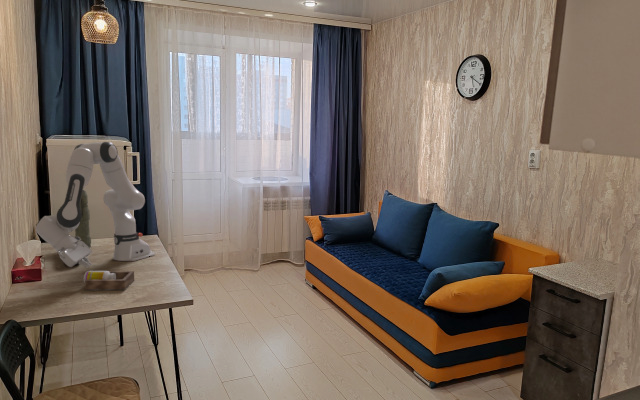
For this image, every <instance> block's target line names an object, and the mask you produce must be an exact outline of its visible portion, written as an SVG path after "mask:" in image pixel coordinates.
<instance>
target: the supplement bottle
mask: <svg viewBox="0 0 640 400" xmlns="http://www.w3.org/2000/svg"><path fill="white" fill-rule="evenodd" d="M115 279H116V274H115V273H110V272H109V270H87V271H85V273H84V274H83V284H85V280H115Z"/></svg>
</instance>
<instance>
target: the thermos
mask: <svg viewBox="0 0 640 400" xmlns="http://www.w3.org/2000/svg"><path fill="white" fill-rule="evenodd" d="M88 200H89V199H88V193H87V191H86V190H85V189H83V191H82V196H81V201H80V209H81V213H82V218H81V221H80V223H79V226H78V227H77V228H76V229H75V230H74V234H75V236H74V237H79V238H80V239H81V240H80V241H82V242H84V243H85V244H86V245H87V246H88V247H89V248H90V247H91V248H92V238H91V234H90V233H91V232H90V218H91V217H90V208H89V203H88V202H89V201H88ZM91 248H90V249H91Z"/></svg>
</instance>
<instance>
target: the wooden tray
mask: <svg viewBox="0 0 640 400" xmlns="http://www.w3.org/2000/svg"><path fill="white" fill-rule="evenodd" d="M108 271H109V270H108ZM109 272H110V273H115V274H116V279H115V280H85V283H84V287H85V291H126V290H127V289H128V288H129V285H130V286H131V284H132V283H134V281H135V271H133V270H132V271H131V270H129V271H128V270H127V271H125V270H124V271H123V270H121V271H120V270H119V271H117V270H113V271H112V270H110V271H109Z"/></svg>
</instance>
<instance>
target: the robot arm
mask: <svg viewBox="0 0 640 400" xmlns="http://www.w3.org/2000/svg"><path fill="white" fill-rule="evenodd" d="M94 165H99V168H100V170H101V173H102V175H103V177H104V178H103V179H104V180H105V183H106V185H107V186H108V187H110V188H111V189H108V190H106V191H105V192H104V194H103V198H102V199H103V203H104V204H105V205H106V206H107V207H108V209H109V211H110V212H111V216H112V218H113V224H114V225H113V226H114V234H113V241H114V251H113V255H112V260H114V261H120V262H121V261H123V262H125V261H129V262H130V261H131V262H135V261H139V260H142V259H145V258H146V259H147V258H150V257H152V256H155V255H156V254H155V252H154V251H152V250H151V247H150V245H149V244H148V243H147V242H146V241H144V240H143V239H142V237H143V236H144V235H143V233H142V232H137V224H136V219H135V216H133V215H132V214H131V212H130V211H136V210H141V209H142V208H143V207H144V206H145V203H146V199H145V196H144V194H143V193H142V192H140V190H138V189H137V188H136V187H135V186H134V184H133V183H132V182H131V181H130V179H129V177H128V175H127V172H126V169H125V166H124V164H123V161H122V159H121V158H120V156H119V152H118V148H117V146H116V145H115V144H114V143H113V142H110V141H103V142H102V141H98V142H97V141H94V142H88V143H80V144H77V145H76V146H75V147H74V149H73V151H72V153H71V155H70V157H69V160H68V164H67V167H66V170H65V171H66V173H65V182H66V183H67V190H66V193H65V199H64V202H63V204H62V205H61V206H60V207H59V209H58V210H57V212H56V214H53V215H44V216H42V217H41V218H40V219H39V221H38V222H37V223H36V224H35V232H36V233H37V235H39V236H40V238H41V239H42V240H44V241H45V242H46V243H48V244H50V245H51V247H52V249H54V250H55V251H56V252H57V254H58V256H59V258H60V260H61V261H62V262H63V263H64V264H65V265H66V266H67V267H69V268H72V267H74V266H76V265H79V264H80V265H82V266H84V267H85V268H88V269H89V267H90V266H91V265H92V262H91V261H90V260H89V258H88V256H89V255H90V254H91V253H92V249H91V248H89V247H88V246H87V245H86V244H85V243H84V242H82V241H80V240H81V239H80V238H79V237H75V236H73V235H70V233H71V232H73V231H75V229H76V228H77V227H78V226H79V223H80V221H81V218H82V213H81V209H80V201H81V196H82V191H83V190H85V189H84V188H85V187H86V186H88V184H89V182H90V180H91V178H92V173H93V168H94ZM149 256H150V257H149ZM77 263H78V264H77ZM75 264H76V265H75Z"/></svg>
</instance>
